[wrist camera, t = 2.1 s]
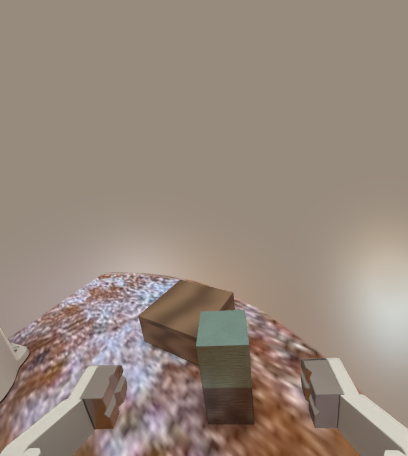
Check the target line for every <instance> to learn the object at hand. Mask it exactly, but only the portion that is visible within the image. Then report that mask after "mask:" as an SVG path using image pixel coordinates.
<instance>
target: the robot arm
mask: <svg viewBox="0 0 408 456" xmlns="http://www.w3.org/2000/svg"><path fill="white" fill-rule="evenodd" d="M29 353H30V352H29V350H28V349H27V347H25V346H22V345H18V344H14V343H11V342H9V341H8V339H7V338H6V336H5V334H4V332H3V331H2V329H1V327H0V401H1V400H2V399H3V398H4V397H5V395H6V394H7V393H8V391H9V390H10V388H11V386H12V385H13V383H14V380H15V378H16V375H17V372H18V369H19V367H20V366H21V365H22V363H23V362H24V361H25V359H26V358H27V357H28V355H29ZM301 368H302V371H303V372H302V373H301V383H302V389H303V393H304V396H305V399H306V400H307V401H308V402H309V412H310V415H311V418H312V421H313V424H314V427H315V428H333V429H338V431H339V432H340V433H341V434H342V435H343V436H344V438H345V439H346V440H347V441H348V442H349V443H350V444H351V445H352V446H353V448H354V449H355V450H356V451H357V452H358V453H359V454H360V455H361V456H408V429H407V428H406V427H404V426H403V425H402V424H400V423H399V422H398V421H397V420H395V419H394V418H393V417H391V416H390V415H389V414H387V413H386V412H385V411H384V410H382V409H381V408H380V407H379V406H377V405H376V404H375V403H373V402H372V401H371V400H370V399H368V398H367V397H366V396H364V395H359V393H358V391H357V389H356V387H355V386H354V384H353V382H352V380H351V378H350V376H349V375H348V373H347V371H346V369H345V367H344V366H343V364H342V362H341V360H340V359H339V358H326V359H325V358H317V359H302V360H301ZM122 373H123V369H122V366H89V367H88V368H86V370H85V372H84V373H83V375H82V377H81V378H80V380H79V382H78V383H77V385H76V386H75V388H74V390H73V391H72V393H71V395H70V396H69V398H68V400H64V401H62V402H61V403H60V404H59V405H57V406H56V407H55V408H54V409H52V410H51V411H50V412H49V413H47V414H46V415H45V416H44V417H42V418H41V419H40V420H39V421H37V422H36V423H35V424H34V425H32V426H31V427H30V428H29V429H27V430H26V431H25V432H24V433H22V434H21V435H20V436H19V437H17V438H16V439H15V440H14V441H12V442H11V443H10V444H9V445H7V446H6V447H5V449H4V450H3V451H2V453H1V454H0V456H73V455H74V454H75V452H76V451H77V450H78V449H79V448H80V447H81V445H82V444H83V443H84V442H85V441H86V440H87V439H88V437H89V436H90V435H91V434H92V433H93V432H94V429H113V428H114V425H115V423H116V420H117V418H118V415H119V408H118V407H119V406H120V405H121V404H122V403H123V402H124V399H125V396H126V391H127V382H126V378H125V377H123V376H122Z"/></svg>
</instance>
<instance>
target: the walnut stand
mask: <svg viewBox="0 0 408 456" xmlns="http://www.w3.org/2000/svg"><path fill="white" fill-rule="evenodd" d="M228 310H235V307H234V296H233V292H229V291H225V290H221V289H216V288H212V287H208V286H204V285H200V284H196V283H191V282H187V281H183V280H180V281H179V282H177V283H176V284H175V285H174V286H173V287H172V288H170V289H169V290H168V291H167V292H166V293H165V294H163V295H162V296H161V297H160V298H159V299H158V300H156V301H155V302H154V303H153V304H152V305H151V306H149V307H148V308H147V309H146V310H145V311H143V312H142V313H141V314H140V315H139V320H140V324H141V328H142V332H143V336H144V340H145V341H146V342H148V343H150V344H152V345H154V346H157V347H159V348H161V349H163V350H166V351H168V352H170V353H172V354H175V355H177V356H179V357H181V358H184V359H186V360H188V361H190V362H192V363H195V364H197V365H199V362H198V356H197V350H196V342H197V335H198V327H199V320H200V312H206V311H228Z"/></svg>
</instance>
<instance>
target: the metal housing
mask: <svg viewBox="0 0 408 456" xmlns="http://www.w3.org/2000/svg"><path fill="white" fill-rule="evenodd" d="M196 350H197V356H198V362H199V369H200V375H201V381H202V388H203V394H204V400H205V407H206V413H207V419H208V424H254V412H253V397H252V382H251V367H250V352H249V340H248V332H247V324H246V316H245V310H228V311H206V312H200V320H199V327H198V335H197V342H196Z"/></svg>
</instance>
